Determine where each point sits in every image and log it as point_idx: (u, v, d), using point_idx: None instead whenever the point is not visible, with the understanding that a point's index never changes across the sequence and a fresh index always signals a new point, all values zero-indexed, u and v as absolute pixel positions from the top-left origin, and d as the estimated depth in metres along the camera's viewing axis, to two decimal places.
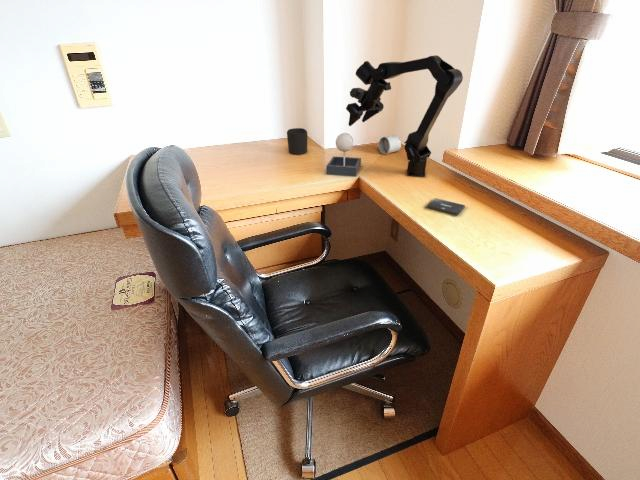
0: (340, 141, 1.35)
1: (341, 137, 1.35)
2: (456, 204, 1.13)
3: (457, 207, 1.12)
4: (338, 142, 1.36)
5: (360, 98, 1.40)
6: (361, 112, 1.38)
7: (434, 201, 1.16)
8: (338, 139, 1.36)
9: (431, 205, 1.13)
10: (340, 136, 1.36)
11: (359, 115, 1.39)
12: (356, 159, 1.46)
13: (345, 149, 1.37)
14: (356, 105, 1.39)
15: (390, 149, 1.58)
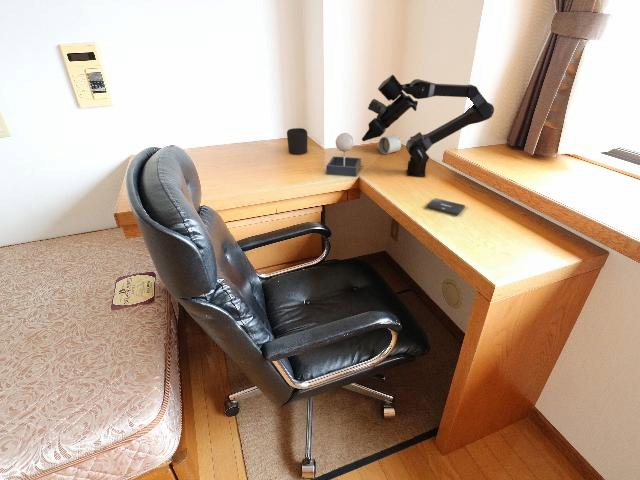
0: (340, 141, 1.35)
1: (341, 137, 1.35)
2: (456, 204, 1.13)
3: (457, 207, 1.12)
4: (338, 142, 1.36)
5: (381, 113, 1.28)
6: (385, 130, 1.27)
7: (434, 201, 1.16)
8: (338, 139, 1.36)
9: (431, 205, 1.13)
10: (340, 136, 1.36)
11: None
12: (356, 159, 1.46)
13: (345, 149, 1.37)
14: (380, 122, 1.26)
15: (390, 149, 1.58)
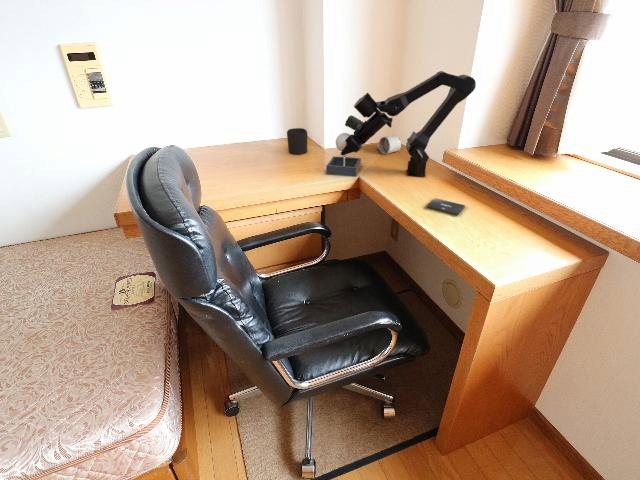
0: (340, 141, 1.35)
1: (341, 137, 1.35)
2: (456, 204, 1.13)
3: (457, 207, 1.12)
4: (338, 142, 1.36)
5: (357, 129, 1.31)
6: (361, 146, 1.30)
7: (434, 201, 1.16)
8: (338, 139, 1.36)
9: (431, 205, 1.13)
10: (340, 136, 1.36)
11: (359, 149, 1.30)
12: (356, 159, 1.46)
13: None
14: (356, 138, 1.29)
15: (390, 149, 1.58)
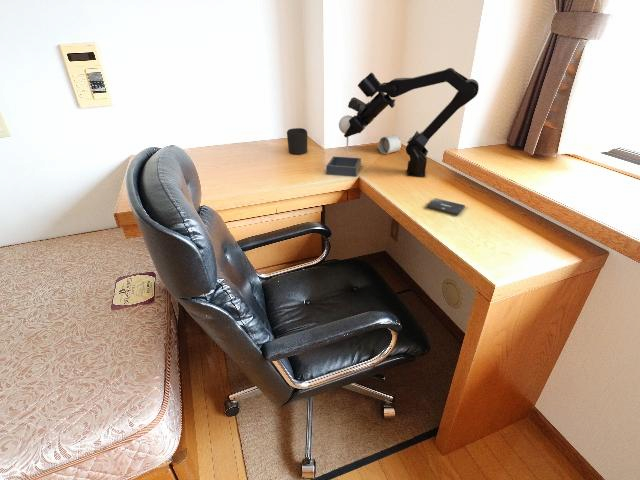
0: (343, 123, 1.37)
1: (345, 119, 1.37)
2: (456, 204, 1.13)
3: (457, 207, 1.12)
4: (341, 124, 1.37)
5: (360, 111, 1.32)
6: (364, 127, 1.31)
7: (434, 201, 1.16)
8: (341, 121, 1.37)
9: (431, 205, 1.13)
10: (343, 118, 1.37)
11: (362, 130, 1.31)
12: (356, 159, 1.46)
13: None
14: (359, 119, 1.31)
15: (390, 149, 1.58)
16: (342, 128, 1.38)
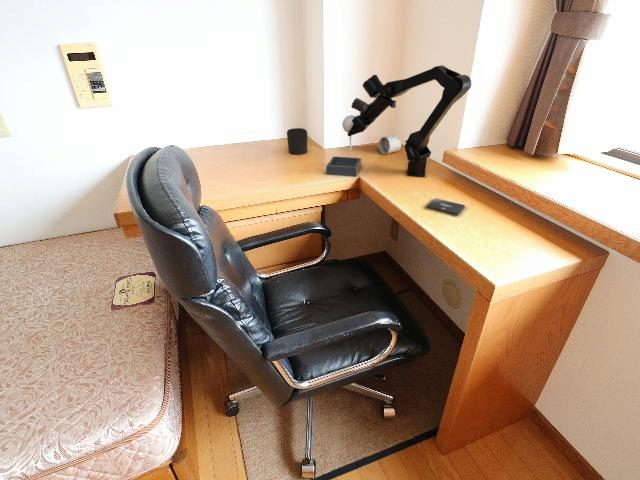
0: (346, 122, 1.43)
1: (348, 119, 1.43)
2: (456, 204, 1.13)
3: (457, 207, 1.12)
4: (345, 124, 1.44)
5: (363, 111, 1.39)
6: (367, 126, 1.38)
7: (434, 201, 1.16)
8: (345, 121, 1.44)
9: (431, 205, 1.13)
10: (347, 118, 1.44)
11: None
12: (356, 159, 1.46)
13: None
14: (362, 118, 1.37)
15: (390, 149, 1.58)
16: (345, 127, 1.45)
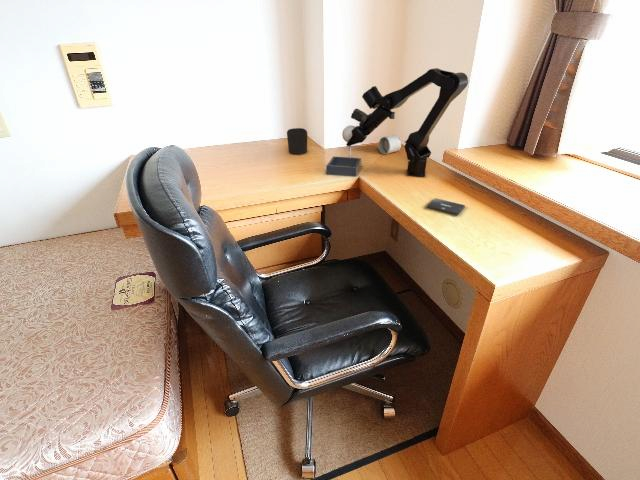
0: (346, 133, 1.46)
1: (348, 129, 1.45)
2: (456, 204, 1.13)
3: (457, 207, 1.12)
4: (345, 134, 1.46)
5: (363, 121, 1.41)
6: (366, 137, 1.40)
7: (434, 201, 1.16)
8: (345, 131, 1.46)
9: (431, 205, 1.13)
10: (346, 128, 1.46)
11: (364, 139, 1.40)
12: (356, 159, 1.46)
13: None
14: (361, 129, 1.40)
15: (390, 149, 1.58)
16: (345, 137, 1.47)
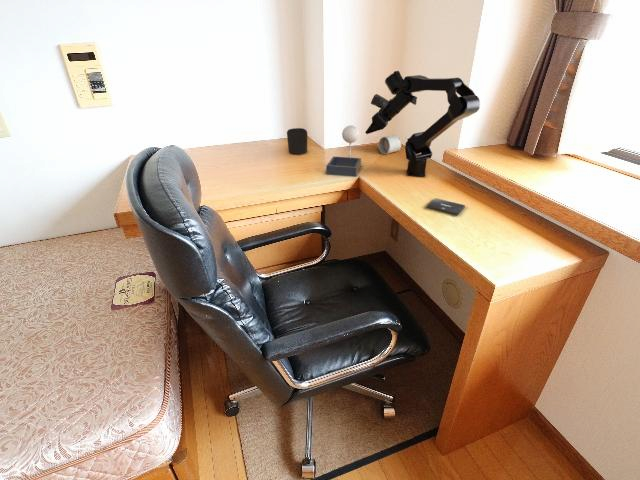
0: (346, 133, 1.46)
1: (348, 129, 1.46)
2: (456, 204, 1.13)
3: (457, 207, 1.12)
4: (344, 134, 1.46)
5: (383, 107, 1.36)
6: (387, 123, 1.35)
7: (434, 201, 1.16)
8: (344, 131, 1.46)
9: (431, 205, 1.13)
10: (346, 128, 1.46)
11: (385, 126, 1.35)
12: (356, 159, 1.46)
13: (351, 140, 1.47)
14: (382, 115, 1.34)
15: (390, 149, 1.58)
16: (345, 137, 1.47)
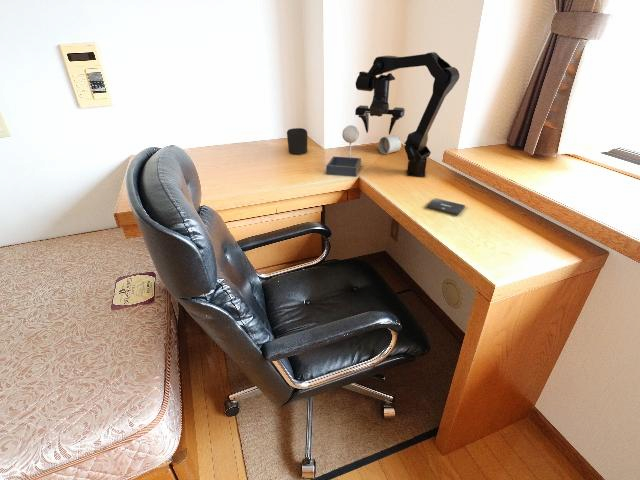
0: (346, 132, 1.46)
1: (348, 129, 1.46)
2: (456, 204, 1.13)
3: (457, 207, 1.12)
4: (345, 134, 1.46)
5: None
6: None
7: (434, 201, 1.16)
8: (345, 131, 1.46)
9: (431, 205, 1.13)
10: (346, 128, 1.46)
11: None
12: (356, 159, 1.46)
13: (351, 140, 1.47)
14: (396, 108, 1.35)
15: (390, 149, 1.58)
16: (345, 137, 1.47)
